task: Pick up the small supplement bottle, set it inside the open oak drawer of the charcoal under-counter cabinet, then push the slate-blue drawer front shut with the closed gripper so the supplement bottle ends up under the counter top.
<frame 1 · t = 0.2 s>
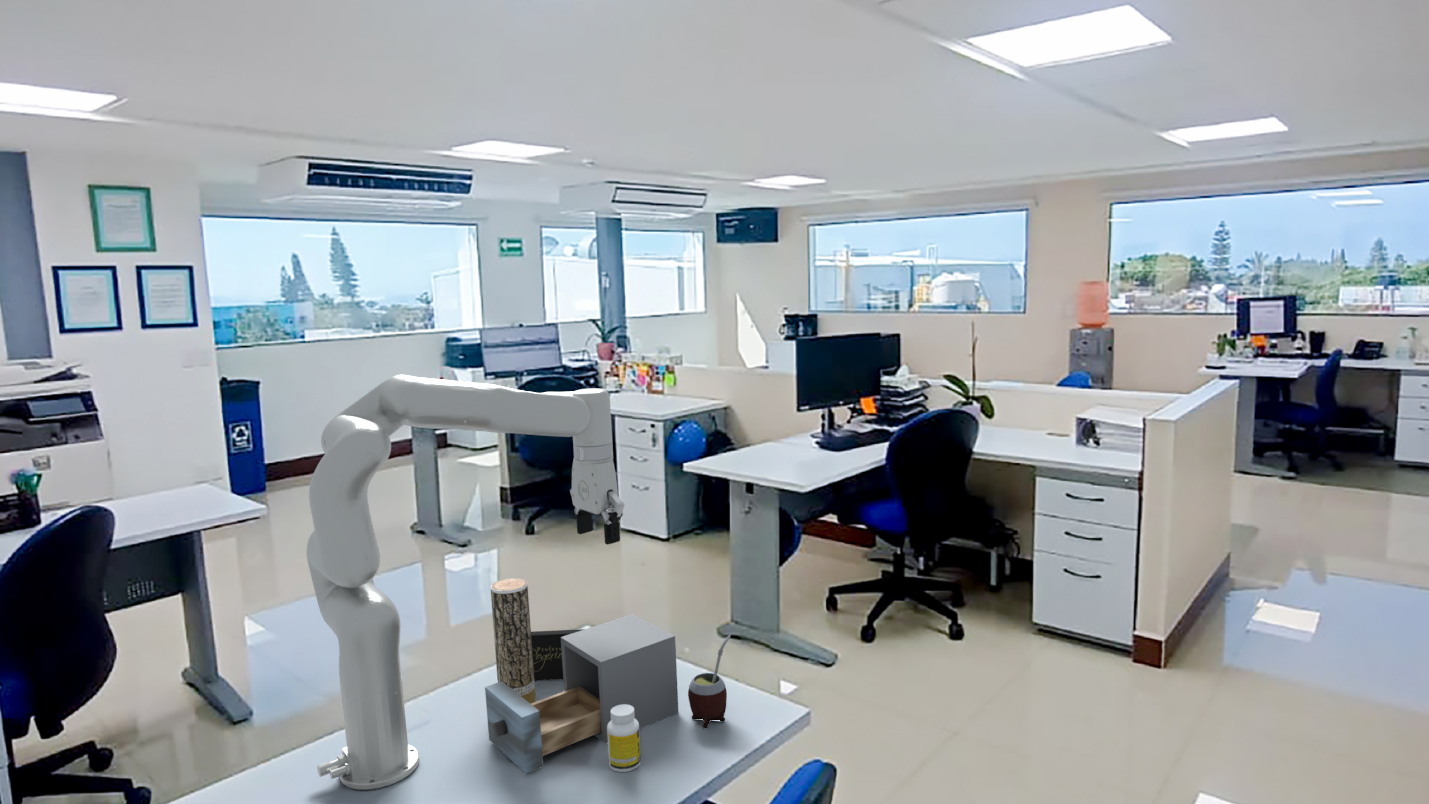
hand: (598, 537, 168), 31 cm above the table, tool pointing down, fingers open, 9 cm apart
nameplate: (569, 678, 177), on the table
brown bark cylinder: (518, 709, 165), on the table
mate gourd: (710, 719, 158), on the table
supplement bottle: (625, 765, 145), on the table
drawer: (547, 712, 151), point 6 cm above the table, slide at 12.0 cm
cabinet: (621, 712, 162), on the table
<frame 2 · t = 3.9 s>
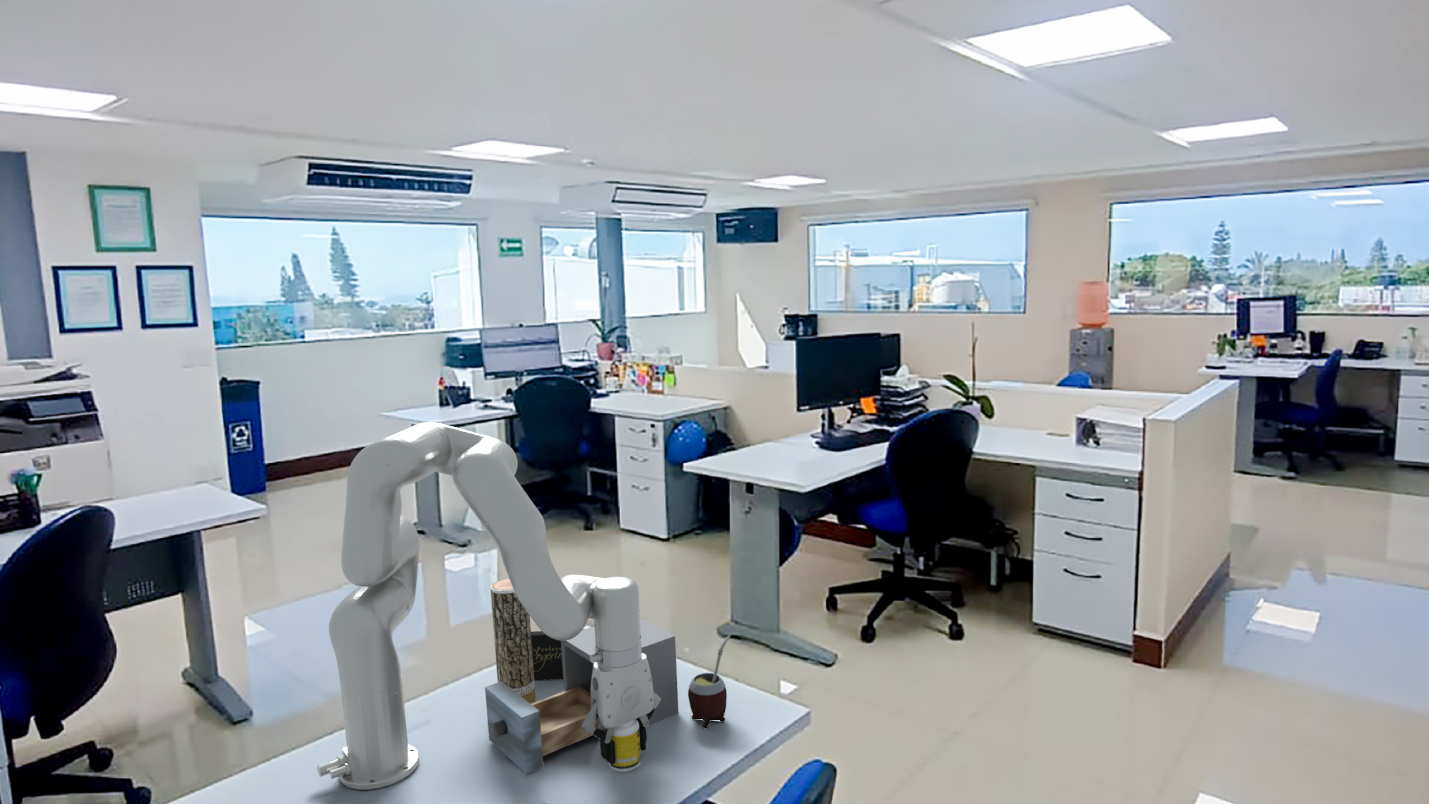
hand: (624, 753, 144), 2 cm above the table, tool pointing down, fingers closed on supplement bottle, 5 cm apart
supplement bottle: (625, 765, 145), on the table, touching gripper
everything else where it was.
when the fingers open (6 cm above the table, at t = 10.0 s): supplement bottle drops 1 cm, resting on drawer.
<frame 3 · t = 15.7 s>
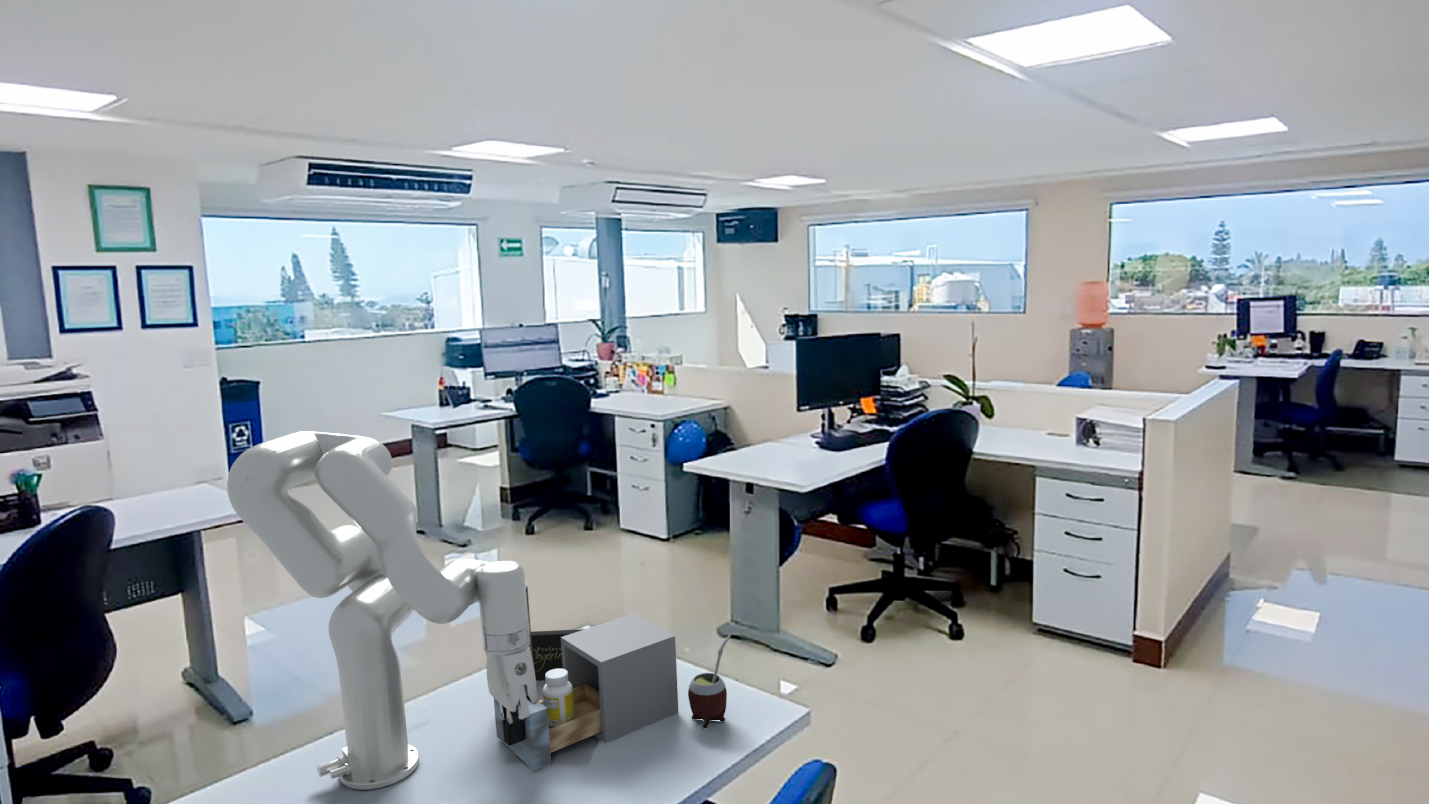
hand: (515, 740, 143), 5 cm above the table, tool pointing down, fingers closed
supplement bottle: (560, 725, 154), point 2 cm above the table, touching drawer
drawer: (554, 710, 152), point 6 cm above the table, slide at 10.5 cm, touching supplement bottle, gripper
everything else where it was.
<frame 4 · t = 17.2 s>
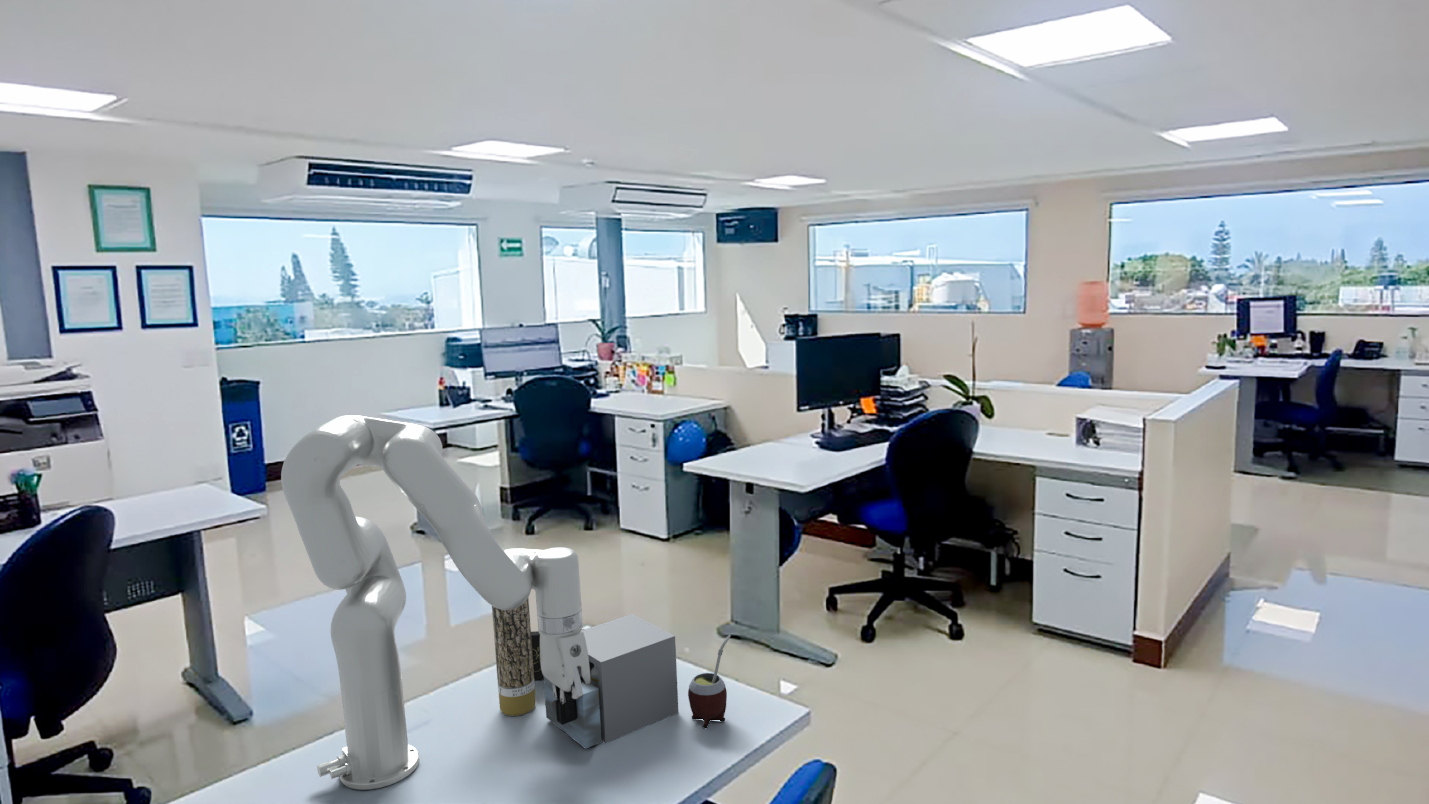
hand: (567, 720, 149), 5 cm above the table, tool pointing down, fingers closed
supplement bottle: (607, 707, 160), point 2 cm above the table, touching drawer
drawer: (602, 691, 158), point 6 cm above the table, slide at 0.6 cm, touching supplement bottle, gripper
everything else where it was.
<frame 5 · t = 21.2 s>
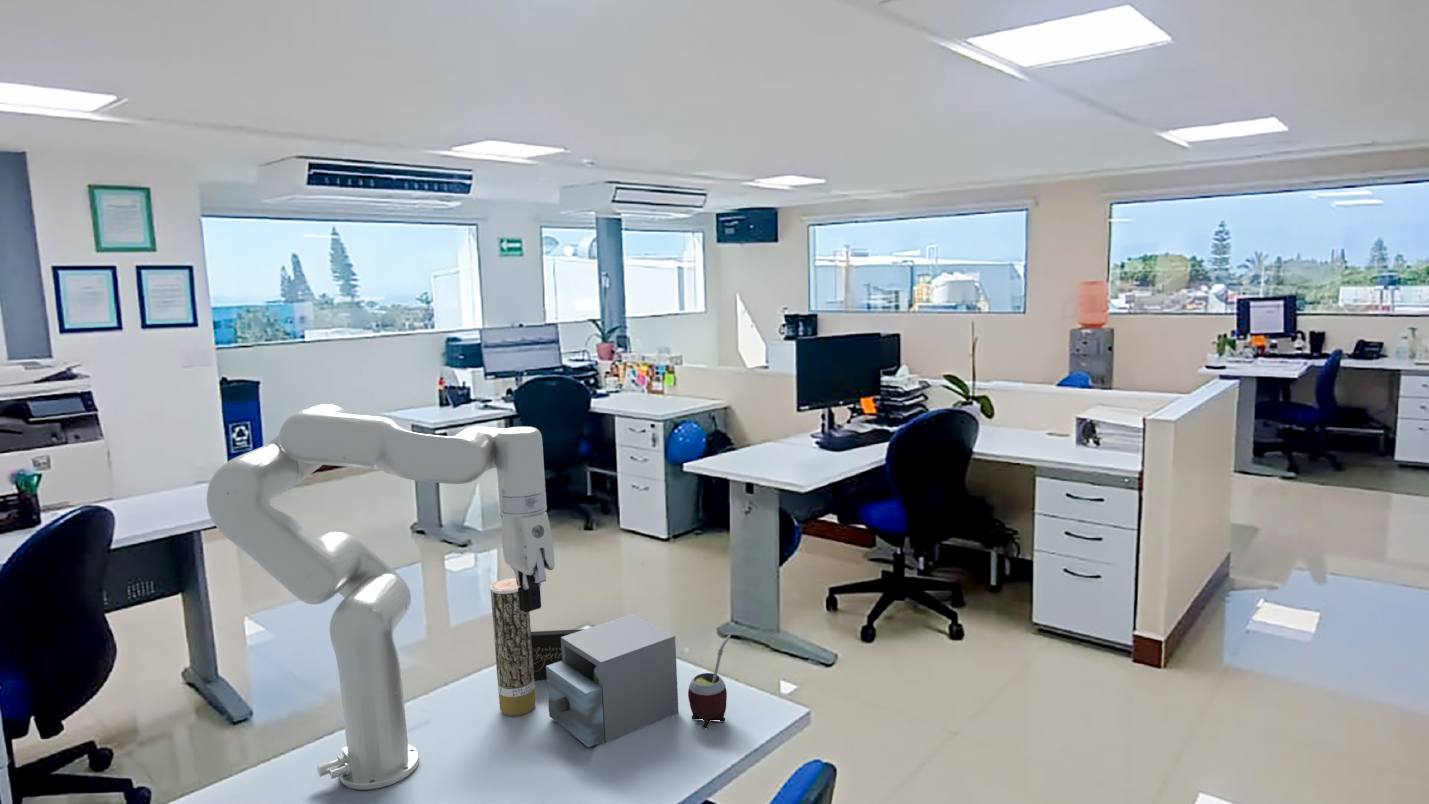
hand: (530, 608, 143), 27 cm above the table, tool pointing down, fingers closed
drawer: (605, 690, 159), point 6 cm above the table, slide at 0.0 cm, touching supplement bottle
everything else where it was.
at the end: drawer slide at 0.0 cm; supplement bottle inside the target area on the cabinet (1.8 cm from its centre), point 2.1 cm above the cabinet's base; supplement bottle tilted 0° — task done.
